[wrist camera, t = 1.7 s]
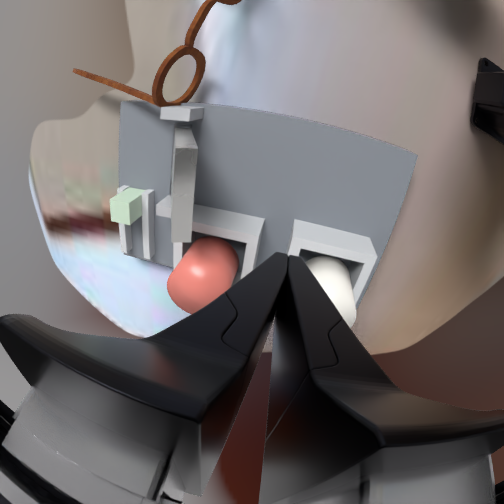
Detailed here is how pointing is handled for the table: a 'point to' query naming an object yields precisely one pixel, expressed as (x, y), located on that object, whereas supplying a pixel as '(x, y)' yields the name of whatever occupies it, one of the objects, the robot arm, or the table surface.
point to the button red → (203, 273)
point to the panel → (264, 186)
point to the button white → (335, 284)
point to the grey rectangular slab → (182, 182)
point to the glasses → (170, 64)
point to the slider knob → (126, 206)
